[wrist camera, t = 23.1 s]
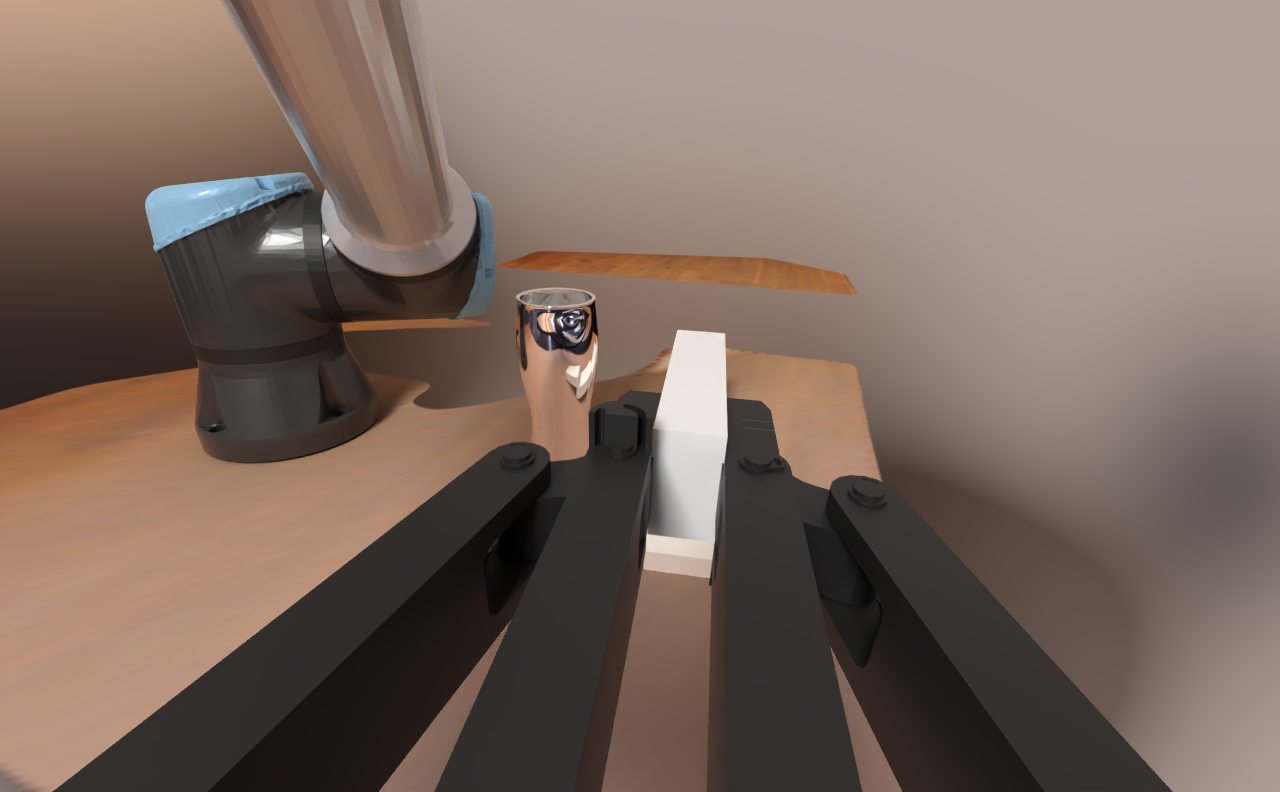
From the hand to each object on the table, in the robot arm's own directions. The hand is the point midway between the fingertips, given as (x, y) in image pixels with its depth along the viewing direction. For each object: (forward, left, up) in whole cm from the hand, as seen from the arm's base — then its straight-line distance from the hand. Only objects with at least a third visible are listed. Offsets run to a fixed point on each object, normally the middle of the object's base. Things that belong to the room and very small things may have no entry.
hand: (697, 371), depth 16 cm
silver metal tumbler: (-28, +2, -19) cm, 34 cm away
